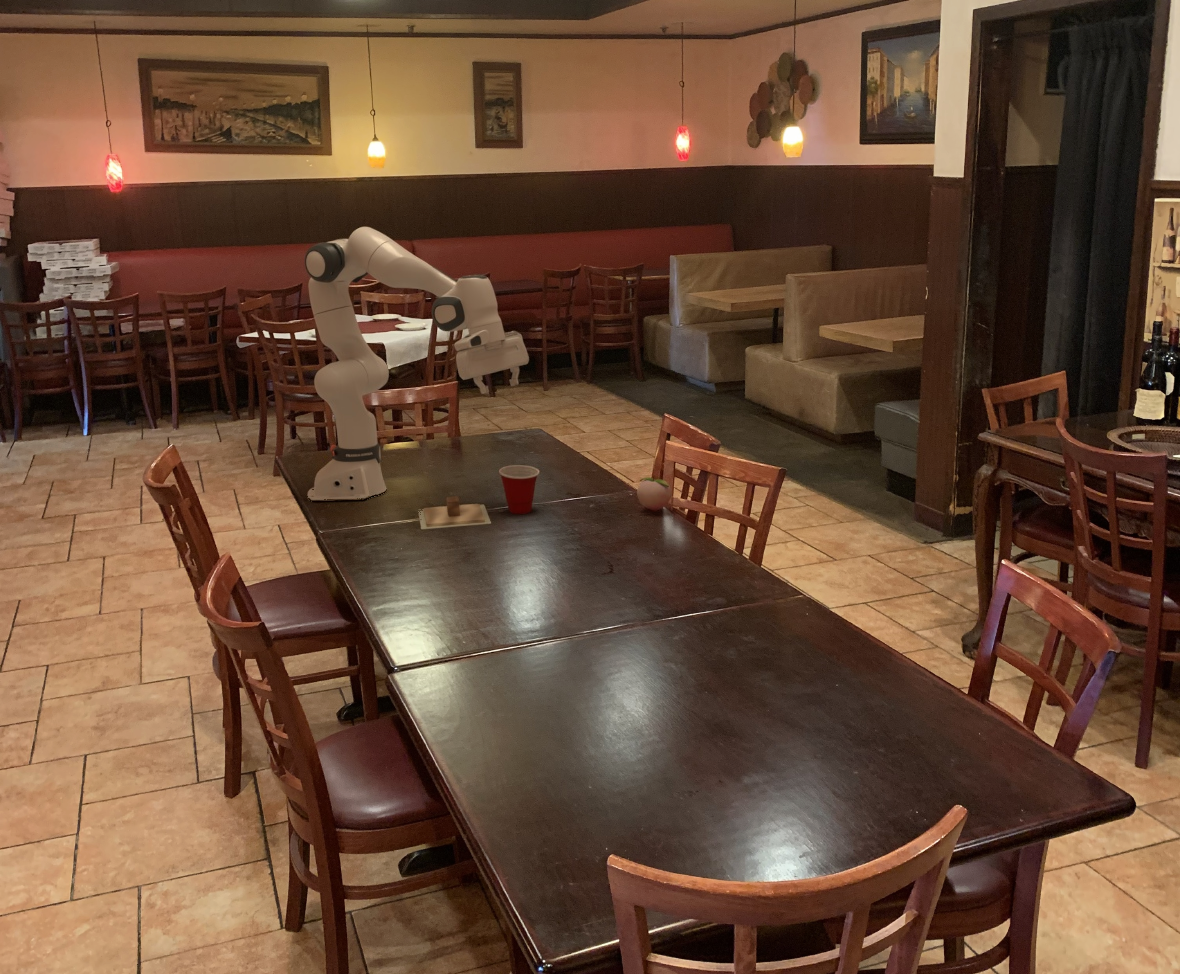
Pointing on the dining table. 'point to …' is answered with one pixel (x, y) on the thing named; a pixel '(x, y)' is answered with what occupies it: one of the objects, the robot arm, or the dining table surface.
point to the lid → (453, 514)
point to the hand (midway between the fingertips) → (500, 389)
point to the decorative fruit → (654, 493)
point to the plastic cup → (519, 487)
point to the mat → (424, 526)
